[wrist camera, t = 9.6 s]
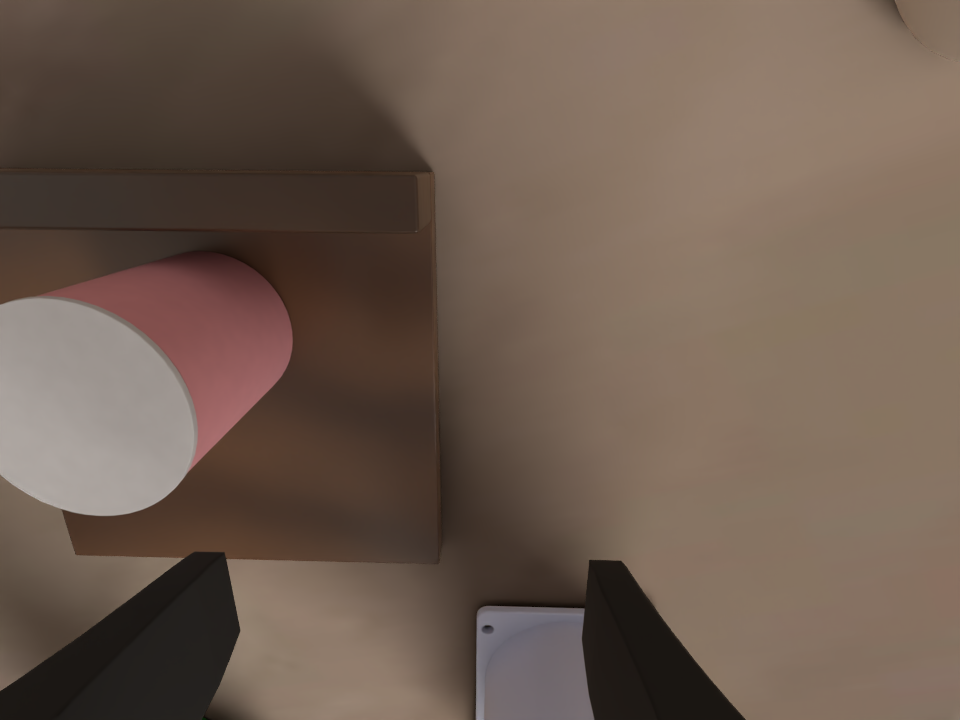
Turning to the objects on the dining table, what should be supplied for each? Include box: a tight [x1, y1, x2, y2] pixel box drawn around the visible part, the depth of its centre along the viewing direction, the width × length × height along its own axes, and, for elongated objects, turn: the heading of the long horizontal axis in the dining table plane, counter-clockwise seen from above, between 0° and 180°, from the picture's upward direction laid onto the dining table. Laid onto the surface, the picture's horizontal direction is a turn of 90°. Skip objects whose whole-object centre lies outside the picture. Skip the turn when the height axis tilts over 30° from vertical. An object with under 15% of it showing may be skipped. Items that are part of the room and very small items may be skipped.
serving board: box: [0, 168, 442, 564], centre depth 19 cm, size 15×15×4 cm
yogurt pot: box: [0, 251, 293, 516], centre depth 15 cm, size 6×6×7 cm
